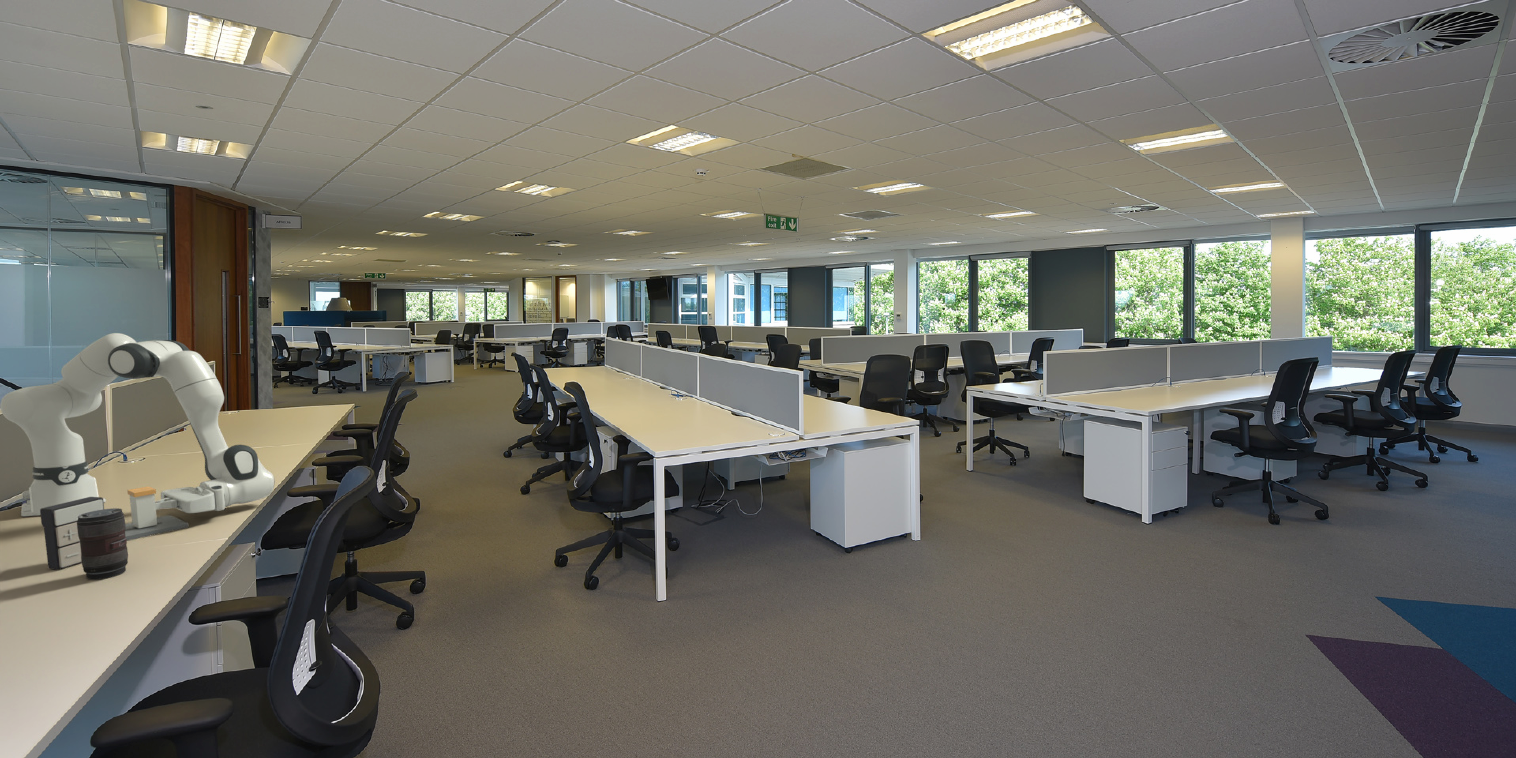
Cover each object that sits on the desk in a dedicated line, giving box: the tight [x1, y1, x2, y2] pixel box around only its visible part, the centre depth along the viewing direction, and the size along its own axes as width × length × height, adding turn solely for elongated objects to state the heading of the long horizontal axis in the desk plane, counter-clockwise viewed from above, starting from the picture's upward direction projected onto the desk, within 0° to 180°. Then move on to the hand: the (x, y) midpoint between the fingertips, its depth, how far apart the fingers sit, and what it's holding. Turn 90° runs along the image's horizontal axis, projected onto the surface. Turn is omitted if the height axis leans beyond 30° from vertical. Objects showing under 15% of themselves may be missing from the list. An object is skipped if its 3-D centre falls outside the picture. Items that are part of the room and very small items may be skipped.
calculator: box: [39, 496, 105, 571], centre depth 168 cm, size 11×4×15 cm, turn 168°
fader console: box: [125, 514, 190, 541], centre depth 189 cm, size 14×24×1 cm, turn 148°
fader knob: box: [127, 485, 157, 528], centre depth 192 cm, size 6×5×10 cm
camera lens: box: [77, 507, 129, 581], centre depth 161 cm, size 8×8×15 cm
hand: (152, 506), depth 194 cm, fingers closed, pressing on fader knob
